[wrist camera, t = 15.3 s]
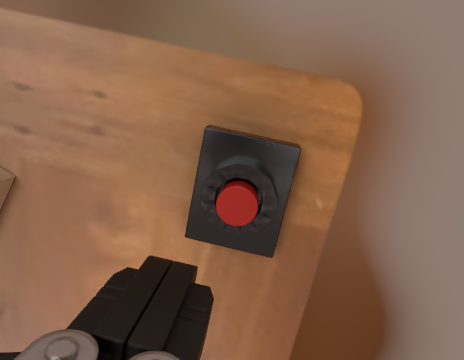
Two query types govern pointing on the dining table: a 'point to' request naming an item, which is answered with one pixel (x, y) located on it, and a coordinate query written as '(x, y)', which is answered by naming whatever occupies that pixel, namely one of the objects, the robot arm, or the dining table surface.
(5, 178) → the hob panel
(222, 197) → the button
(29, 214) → the dining table surface
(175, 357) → the robot arm
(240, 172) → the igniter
